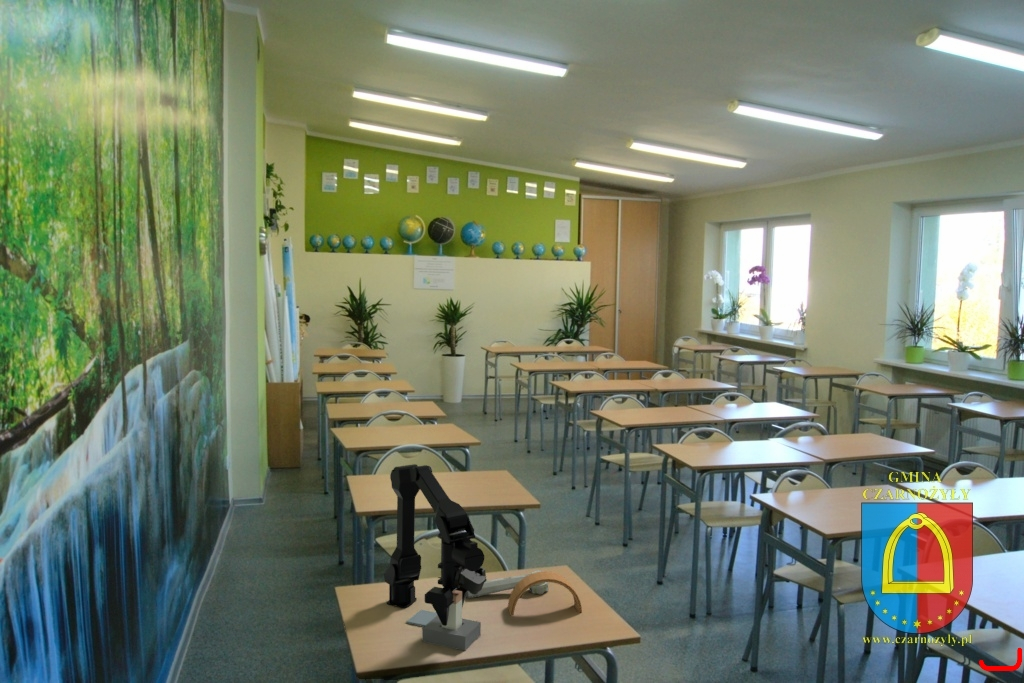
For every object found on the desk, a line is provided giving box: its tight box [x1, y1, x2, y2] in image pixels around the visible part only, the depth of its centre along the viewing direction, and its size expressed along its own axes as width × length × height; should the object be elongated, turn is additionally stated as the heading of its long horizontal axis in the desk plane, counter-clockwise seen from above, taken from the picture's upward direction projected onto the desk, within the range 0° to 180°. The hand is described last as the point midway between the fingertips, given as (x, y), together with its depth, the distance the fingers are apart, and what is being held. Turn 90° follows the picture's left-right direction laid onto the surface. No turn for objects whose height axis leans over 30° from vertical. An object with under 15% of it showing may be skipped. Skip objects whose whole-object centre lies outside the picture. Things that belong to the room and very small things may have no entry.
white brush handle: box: [465, 569, 550, 599], centre depth 219 cm, size 5×7×25 cm
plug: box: [442, 590, 463, 630], centre depth 190 cm, size 4×4×12 cm
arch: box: [507, 571, 583, 616], centre depth 208 cm, size 6×20×10 cm, turn 96°
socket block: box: [421, 615, 482, 651], centre depth 190 cm, size 12×9×4 cm
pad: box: [405, 609, 437, 628], centre depth 201 cm, size 8×8×1 cm
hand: (451, 618), depth 190 cm, fingers open, 8 cm apart
